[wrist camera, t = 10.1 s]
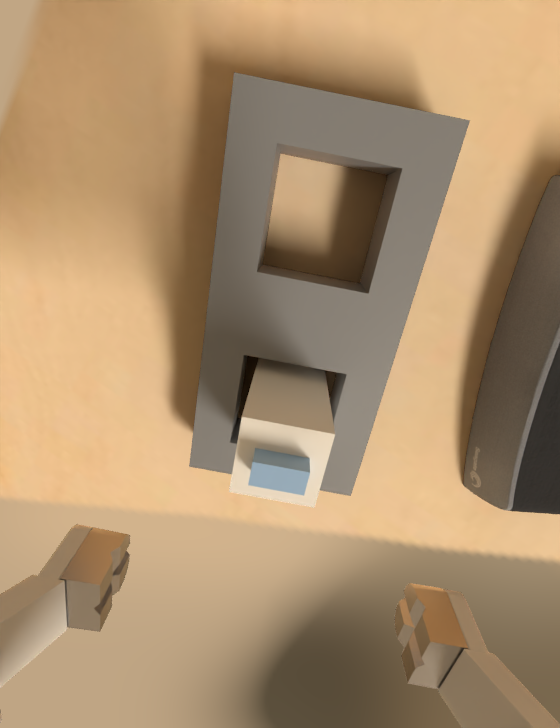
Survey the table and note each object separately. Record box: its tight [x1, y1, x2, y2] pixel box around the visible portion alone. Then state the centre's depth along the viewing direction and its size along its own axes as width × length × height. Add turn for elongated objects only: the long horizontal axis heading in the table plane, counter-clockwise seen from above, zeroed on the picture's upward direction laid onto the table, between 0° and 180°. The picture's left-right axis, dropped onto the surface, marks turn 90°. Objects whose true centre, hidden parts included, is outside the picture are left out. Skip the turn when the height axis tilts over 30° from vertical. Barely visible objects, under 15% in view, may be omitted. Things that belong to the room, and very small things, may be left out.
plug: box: [229, 358, 335, 508], centre depth 20 cm, size 4×4×9 cm
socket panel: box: [189, 72, 470, 496], centre depth 21 cm, size 20×10×3 cm, turn 170°
